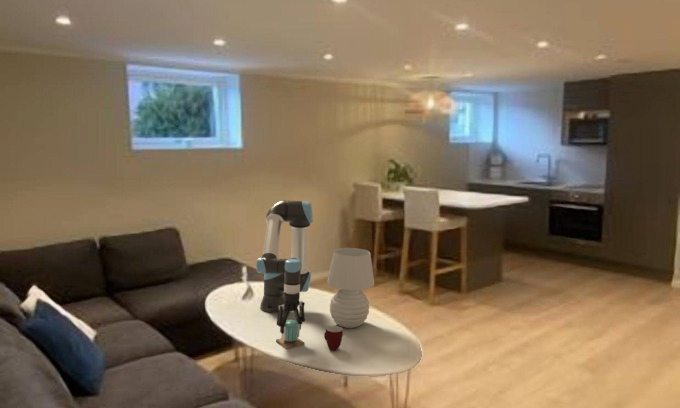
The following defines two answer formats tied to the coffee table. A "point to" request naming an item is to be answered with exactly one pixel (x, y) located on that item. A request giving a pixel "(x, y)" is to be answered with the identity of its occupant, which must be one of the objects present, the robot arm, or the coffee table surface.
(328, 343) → the mug
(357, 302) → the table lamp
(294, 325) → the cap
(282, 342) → the post base
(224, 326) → the coffee table surface
